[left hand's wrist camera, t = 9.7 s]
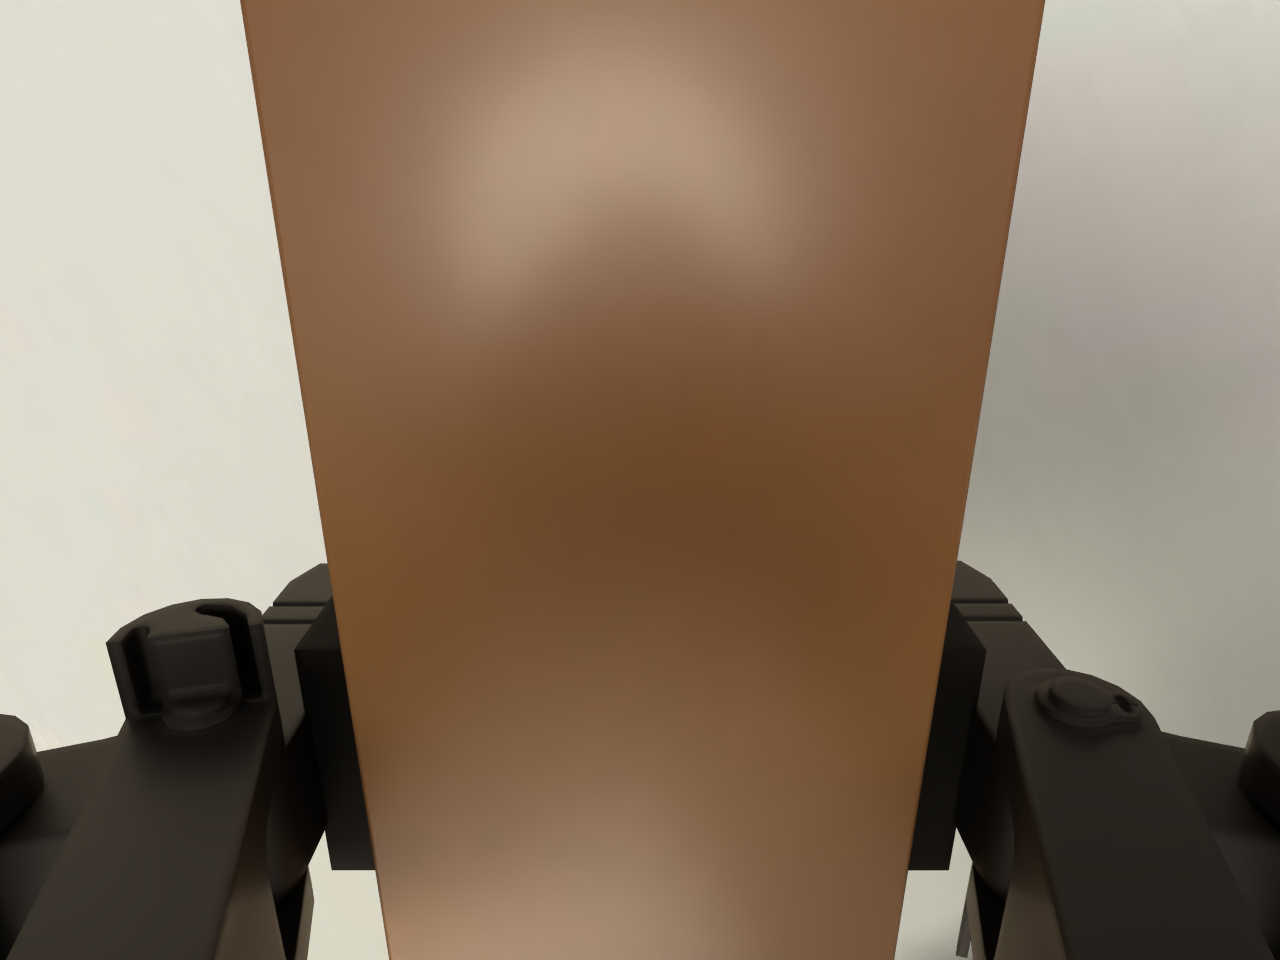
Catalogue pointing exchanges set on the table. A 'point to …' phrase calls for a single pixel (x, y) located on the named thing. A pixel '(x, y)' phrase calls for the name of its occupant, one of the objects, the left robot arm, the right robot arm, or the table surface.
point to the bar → (642, 443)
